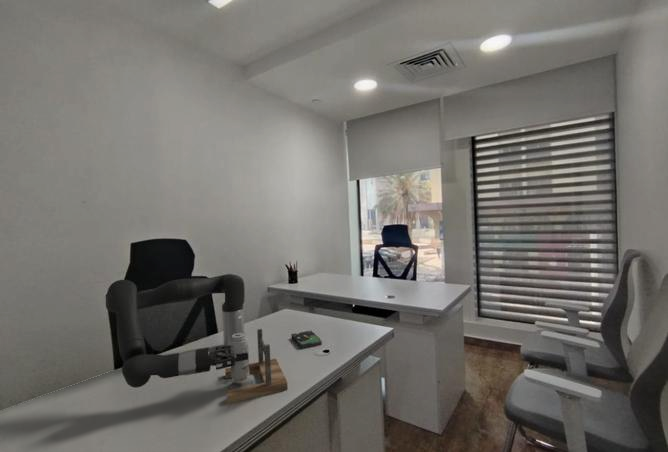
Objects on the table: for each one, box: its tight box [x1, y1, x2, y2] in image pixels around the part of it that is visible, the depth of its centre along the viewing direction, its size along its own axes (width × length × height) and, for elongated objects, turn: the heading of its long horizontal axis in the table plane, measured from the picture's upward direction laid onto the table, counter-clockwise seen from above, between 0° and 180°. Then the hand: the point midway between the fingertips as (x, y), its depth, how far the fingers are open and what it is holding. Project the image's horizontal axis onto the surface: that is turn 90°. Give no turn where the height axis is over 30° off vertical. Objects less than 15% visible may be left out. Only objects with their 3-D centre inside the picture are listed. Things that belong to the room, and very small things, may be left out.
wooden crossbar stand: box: [224, 328, 288, 404], centre depth 110 cm, size 20×19×16 cm
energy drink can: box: [230, 332, 250, 381], centre depth 108 cm, size 6×6×15 cm
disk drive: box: [291, 330, 323, 350], centre depth 145 cm, size 10×3×15 cm
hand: (246, 352), depth 109 cm, fingers closed on energy drink can, 6 cm apart
